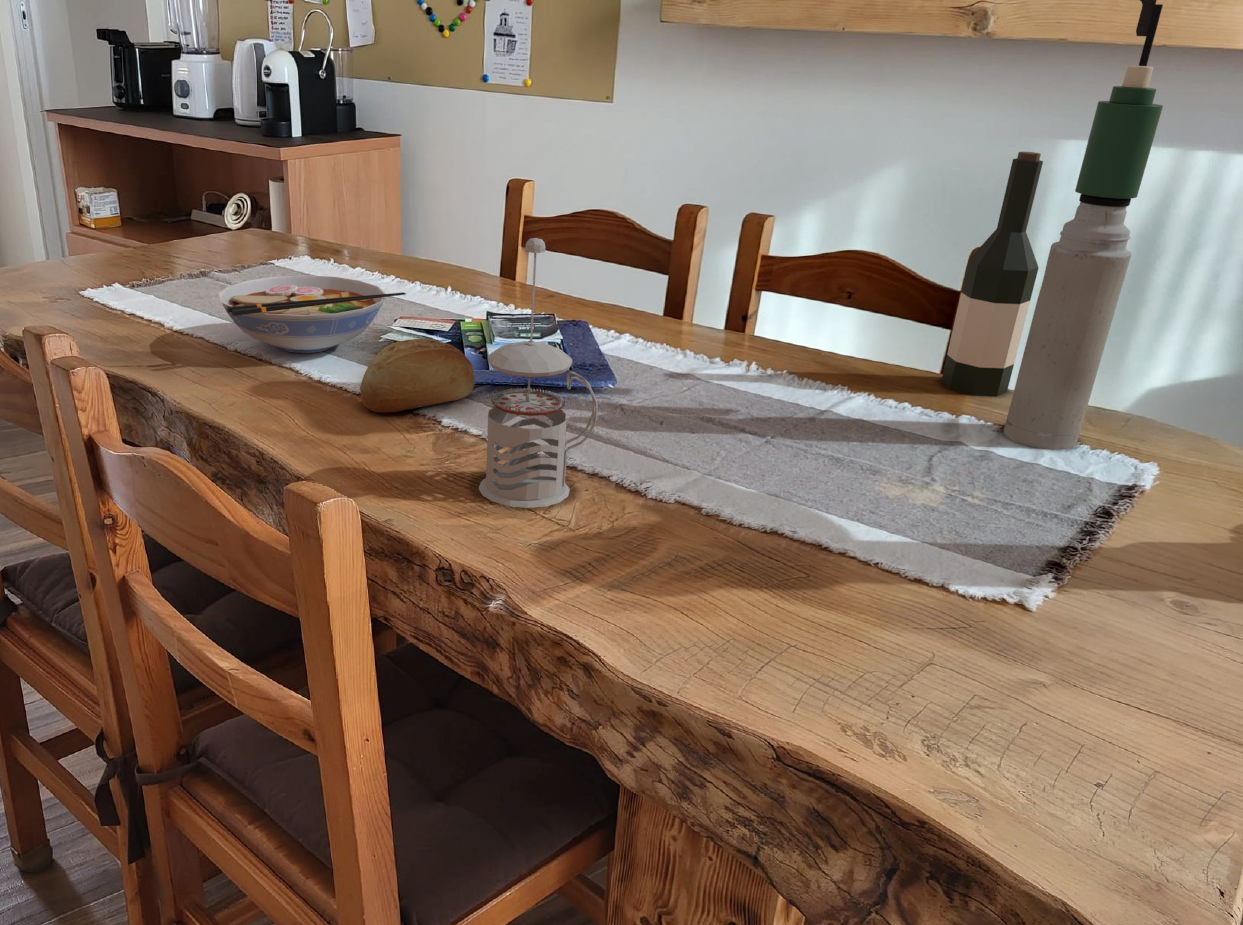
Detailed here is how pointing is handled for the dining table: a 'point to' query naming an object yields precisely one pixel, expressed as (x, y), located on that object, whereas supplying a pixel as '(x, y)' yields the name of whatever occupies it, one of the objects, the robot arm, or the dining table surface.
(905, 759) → the dining table surface
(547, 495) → the french press
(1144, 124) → the green bottle
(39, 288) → the dining table surface
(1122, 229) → the thermos bottle
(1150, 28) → the robot arm
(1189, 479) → the dining table surface
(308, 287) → the ramen bowl
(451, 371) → the bread roll
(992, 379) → the wine bottle
